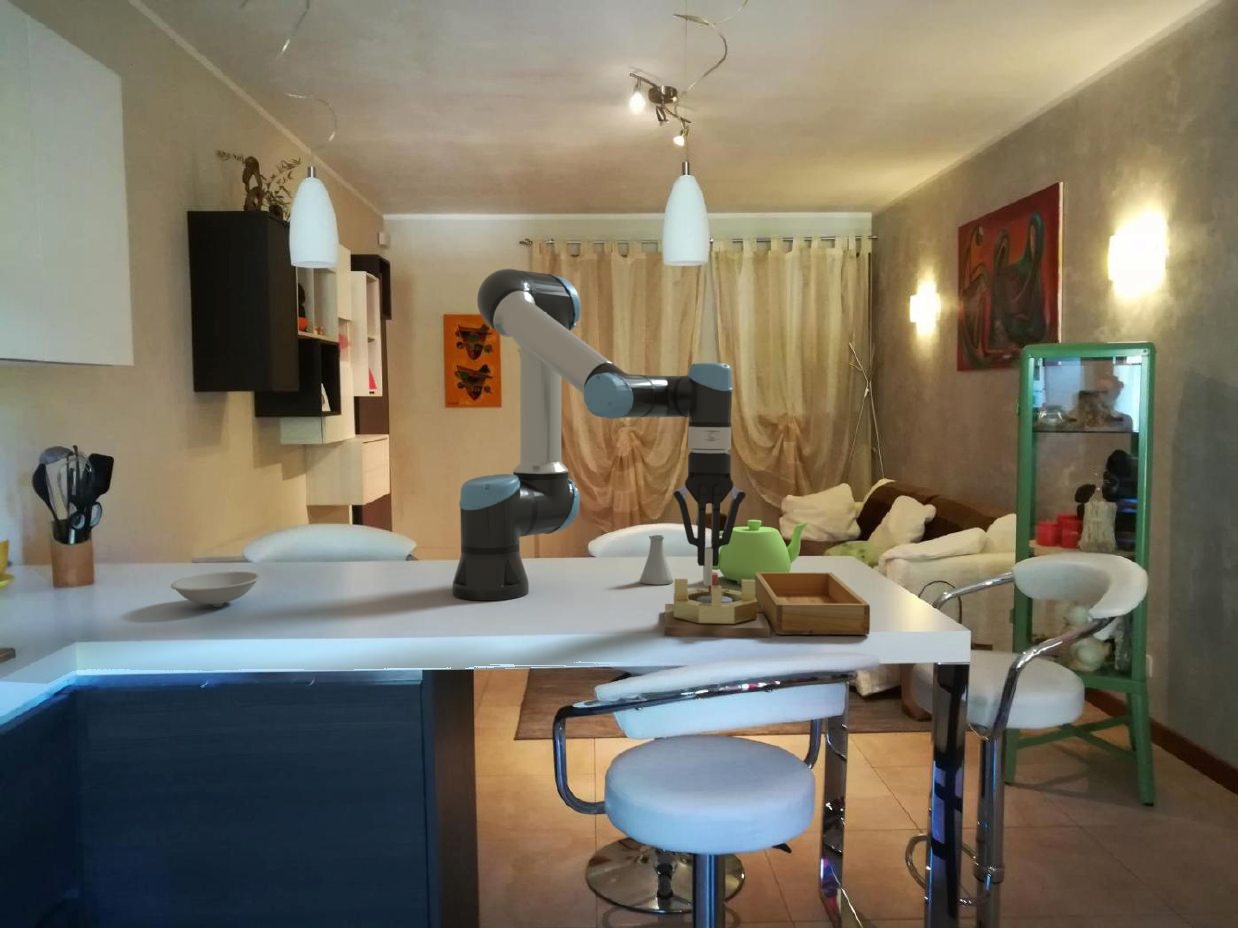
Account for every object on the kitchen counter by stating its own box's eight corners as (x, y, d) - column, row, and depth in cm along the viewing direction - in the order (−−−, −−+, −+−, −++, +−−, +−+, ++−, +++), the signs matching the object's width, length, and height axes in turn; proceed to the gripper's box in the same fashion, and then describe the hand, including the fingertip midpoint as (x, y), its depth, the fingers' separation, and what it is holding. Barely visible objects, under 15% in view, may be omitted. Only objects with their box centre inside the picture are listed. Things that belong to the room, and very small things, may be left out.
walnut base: (664, 635, 145) (664, 609, 144) (665, 611, 162) (665, 588, 161) (771, 637, 144) (772, 610, 143) (761, 612, 161) (761, 589, 160)
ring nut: (673, 622, 146) (673, 587, 146) (673, 603, 160) (673, 572, 160) (759, 623, 145) (759, 588, 145) (751, 604, 159) (752, 572, 159)
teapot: (799, 573, 199) (800, 515, 198) (819, 586, 184) (820, 524, 183) (702, 574, 198) (702, 516, 197) (714, 588, 183) (715, 525, 182)
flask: (673, 579, 192) (674, 533, 192) (672, 586, 185) (673, 538, 185) (640, 578, 193) (640, 533, 192) (638, 585, 186) (638, 538, 185)
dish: (225, 618, 157) (224, 590, 157) (151, 615, 159) (150, 588, 159) (278, 597, 175) (277, 572, 174) (211, 595, 177) (210, 570, 176)
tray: (754, 598, 175) (754, 569, 175) (831, 598, 175) (832, 570, 174) (775, 638, 145) (776, 604, 144) (869, 639, 144) (870, 605, 144)
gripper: (674, 452, 153) (672, 587, 154) (749, 452, 153) (746, 588, 154) (671, 450, 160) (670, 579, 161) (743, 450, 160) (740, 580, 162)
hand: (707, 583), depth 158 cm, fingers closed
